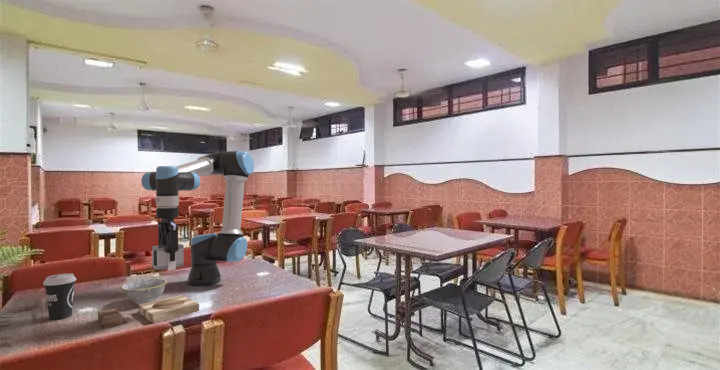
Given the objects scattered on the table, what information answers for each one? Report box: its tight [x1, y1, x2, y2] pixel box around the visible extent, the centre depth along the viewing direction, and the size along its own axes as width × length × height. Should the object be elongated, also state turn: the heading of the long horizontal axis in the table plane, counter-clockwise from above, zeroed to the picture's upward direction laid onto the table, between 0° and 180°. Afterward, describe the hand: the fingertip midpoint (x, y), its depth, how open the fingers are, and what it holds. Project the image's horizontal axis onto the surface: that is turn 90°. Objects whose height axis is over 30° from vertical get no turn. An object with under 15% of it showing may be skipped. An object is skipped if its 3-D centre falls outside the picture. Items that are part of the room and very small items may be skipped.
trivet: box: [137, 294, 200, 324], centre depth 144 cm, size 16×16×3 cm
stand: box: [97, 308, 123, 328], centre depth 134 cm, size 10×5×3 cm, turn 46°
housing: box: [151, 243, 185, 271], centre depth 143 cm, size 9×6×8 cm, turn 136°
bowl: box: [121, 278, 168, 305], centre depth 156 cm, size 16×16×8 cm
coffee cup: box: [42, 273, 77, 321], centre depth 139 cm, size 10×10×15 cm
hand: (168, 268), depth 143 cm, fingers closed on housing, 6 cm apart
